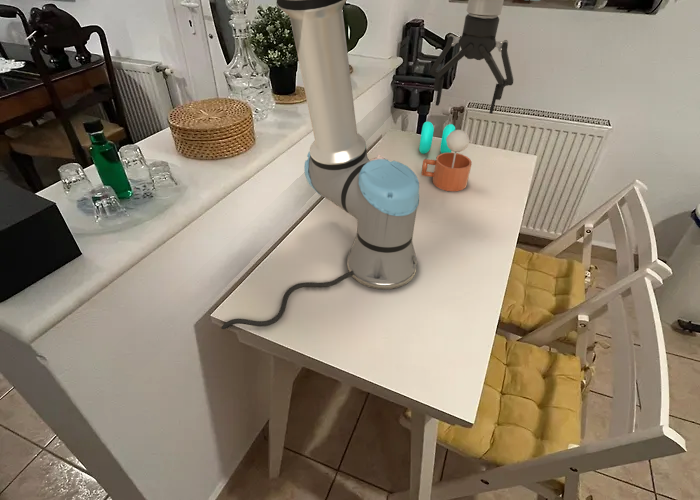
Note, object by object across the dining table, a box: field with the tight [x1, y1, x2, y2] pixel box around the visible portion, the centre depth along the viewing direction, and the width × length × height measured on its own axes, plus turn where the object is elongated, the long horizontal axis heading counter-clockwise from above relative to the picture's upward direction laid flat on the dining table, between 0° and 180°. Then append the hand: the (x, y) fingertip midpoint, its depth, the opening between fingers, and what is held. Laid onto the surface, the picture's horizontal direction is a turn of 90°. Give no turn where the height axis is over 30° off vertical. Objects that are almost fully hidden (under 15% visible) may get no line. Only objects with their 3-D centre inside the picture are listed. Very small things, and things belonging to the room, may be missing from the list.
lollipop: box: [446, 129, 470, 168], centre depth 119 cm, size 6×6×15 cm
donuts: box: [418, 120, 456, 155], centre depth 135 cm, size 10×10×10 cm
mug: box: [420, 152, 473, 192], centre depth 122 cm, size 13×10×7 cm
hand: (464, 107), depth 110 cm, fingers open, 13 cm apart
